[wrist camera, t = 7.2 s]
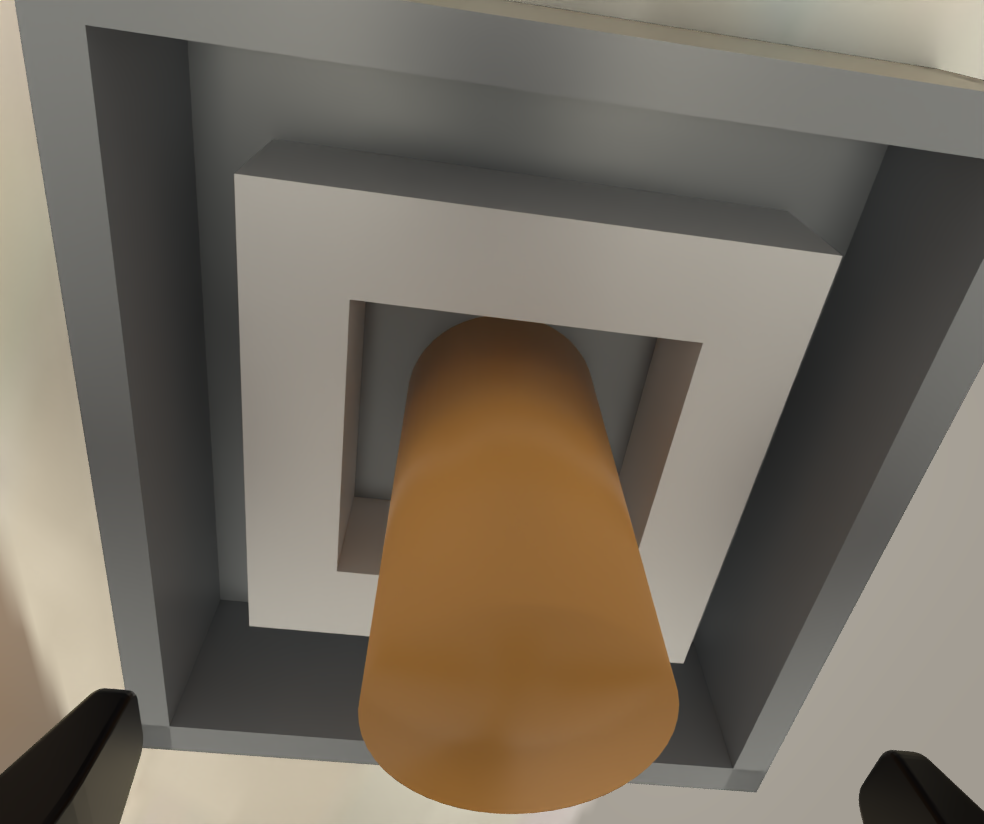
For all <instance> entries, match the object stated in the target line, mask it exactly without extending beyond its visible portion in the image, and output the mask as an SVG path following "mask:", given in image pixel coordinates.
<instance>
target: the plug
mask: <svg viewBox="0 0 984 824" xmlns="http://www.w3.org/2000/svg"><path fill="white" fill-rule="evenodd" d="M678 711H679V698H678V690H677V686H676V683H675V679H674V675H673V672H672V668H671V664H670V661H669V657H668V654H667V650H666V646H665V643H664V639H663V635H662V632H661V628H660V625H659V621H658V617H657V614H656V610H655V606H654V603H653V599H652V596H651V592H650V588H649V585H648V581H647V577H646V574H645V570H644V567H643V563H642V559H641V556H640V552H639V548H638V545H637V541H636V538H635V534H634V530H633V527H632V523H631V519H630V516H629V512H628V509H627V505H626V501H625V498H624V494H623V490H622V487H621V483H620V480H619V476H618V472H617V469H616V465H615V461H614V458H613V454H612V451H611V447H610V443H609V440H608V436H607V432H606V429H605V425H604V422H603V418H602V414H601V411H600V407H599V403H598V400H597V396H596V393H595V389H594V385H593V382H592V378H591V375H590V372H589V368H588V366H587V364H586V362H585V360H584V358H583V357H582V355H581V354H580V352H579V351H578V349H577V348H576V347H575V346H574V345H573V344H572V343H571V341H570V340H568V339H567V338H566V337H565V336H564V335H562V334H561V333H560V332H558V331H557V330H555V329H553V328H552V327H550V326H548V325H546V324H544V323H536V322H528V321H520V320H512V319H504V318H496V317H488V316H484V317H478V318H474V319H471V320H468V321H465V322H462V323H460V324H458V325H456V326H454V327H452V328H450V329H448V330H447V331H445V332H444V333H442V334H441V335H440V336H438V337H437V338H436V339H435V340H433V341H432V342H431V344H430V345H429V346H428V347H427V348H426V349H425V350H424V351H423V353H422V354H421V356H420V357H419V359H418V360H417V362H416V364H415V366H414V368H413V371H412V374H411V377H410V381H409V386H408V392H407V399H406V405H405V412H404V418H403V425H402V431H401V437H400V444H399V450H398V457H397V463H396V469H395V476H394V482H393V489H392V495H391V501H390V508H389V514H388V521H387V527H386V534H385V540H384V546H383V553H382V559H381V566H380V572H379V578H378V585H377V591H376V598H375V604H374V610H373V617H372V623H371V630H370V636H369V642H368V649H367V655H366V662H365V668H364V675H363V681H362V687H361V694H360V700H359V707H358V719H359V726H360V731H361V735H362V737H363V740H364V742H365V744H366V747H367V749H368V750H369V752H370V753H371V755H372V756H373V758H374V759H375V761H376V762H377V763H378V764H379V765H380V766H381V767H382V768H383V769H384V770H385V771H386V772H387V773H388V774H389V775H391V776H392V777H393V778H394V779H395V780H397V781H398V782H400V783H401V784H403V785H404V786H406V787H407V788H409V789H411V790H412V791H414V792H416V793H418V794H421V795H423V796H425V797H427V798H429V799H432V800H435V801H437V802H440V803H443V804H446V805H450V806H454V807H457V808H461V809H467V810H472V811H478V812H487V813H499V814H523V813H537V812H545V811H553V810H557V809H562V808H567V807H571V806H575V805H578V804H581V803H585V802H588V801H591V800H593V799H596V798H598V797H601V796H604V795H606V794H608V793H610V792H612V791H614V790H616V789H618V788H620V787H621V786H623V785H625V784H626V783H628V782H629V781H631V780H633V779H634V778H636V777H637V776H638V775H639V774H641V773H642V772H643V771H644V770H646V769H647V768H648V767H649V766H650V765H651V764H652V763H653V762H654V761H655V760H656V759H657V758H658V757H659V755H660V754H661V752H662V751H663V750H664V748H665V747H666V746H667V744H668V742H669V740H670V738H671V736H672V734H673V732H674V729H675V726H676V723H677V719H678Z"/></svg>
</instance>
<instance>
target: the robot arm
mask: <svg viewBox="0 0 984 824" xmlns="http://www.w3.org/2000/svg"><path fill="white" fill-rule="evenodd" d="M142 746H143V730H142V724H141V717H140V711H139V704H138V699H137V695H136V694H135V693H134V692H133V691H130V690H119V689H106V688H104V689H99V690H97V691H94V692H93V693H91V694H90V695H89V696H88V697H87V698H86V699H84V700H83V701H82V702H81V703H80V704H79V705H78V706H77V707H76V708H74V709H73V710H72V711H71V712H70V713H69V714H68V715H67V716H65V717H64V718H63V719H62V720H61V721H60V722H59V723H58V724H57V725H55V726H54V727H53V728H52V729H51V730H50V731H49V732H48V733H46V734H45V735H44V736H43V737H42V738H41V739H40V740H39V741H38V742H36V744H34V745H33V746H32V747H31V748H30V749H29V750H28V751H26V752H25V753H24V754H23V755H22V756H21V757H20V758H19V759H17V760H16V761H15V762H14V763H13V764H12V765H11V766H10V767H8V768H7V769H6V770H5V771H4V772H3V773H2V774H1V775H0V824H120V821H121V817H122V814H123V811H124V808H125V805H126V801H127V798H128V795H129V792H130V788H131V785H132V782H133V779H134V775H135V772H136V769H137V766H138V763H139V759H140V756H141V751H142ZM859 807H860V812H861V816H862V820H863V824H984V811H983V810H982V809H981V808H980V807H979V806H978V805H977V804H975V803H974V802H973V801H972V800H971V799H970V798H969V797H968V796H967V795H966V794H965V793H964V792H963V791H962V790H961V789H960V788H958V787H957V786H956V785H955V784H954V783H953V782H952V781H951V780H950V779H949V778H948V777H947V776H946V775H945V774H944V773H943V772H942V771H940V770H939V769H938V768H937V767H936V766H935V765H934V764H933V763H932V762H931V761H930V760H929V759H927V758H926V757H925V756H923V755H921V754H919V753H916V752H909V751H897V750H890V751H887V752H885V753H883V754H882V756H881V757H880V758H879V760H878V761H877V763H876V764H875V766H874V768H873V769H872V771H871V772H870V774H869V775H868V777H867V778H866V780H865V781H864V783H863V785H862V787H861V789H860V793H859Z"/></svg>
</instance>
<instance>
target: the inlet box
mask: <svg viewBox="0 0 984 824" xmlns="http://www.w3.org/2000/svg"><path fill="white" fill-rule="evenodd" d="M15 6H16V12H17V18H18V25H19V31H20V37H21V43H22V50H23V56H24V62H25V68H26V74H27V81H28V87H29V93H30V99H31V106H32V112H33V118H34V124H35V131H36V137H37V143H38V149H39V156H40V162H41V168H42V174H43V180H44V187H45V193H46V199H47V205H48V212H49V218H50V224H51V230H52V237H53V243H54V249H55V255H56V262H57V268H58V274H59V280H60V286H61V293H62V299H63V305H64V311H65V318H66V324H67V330H68V336H69V343H70V349H71V355H72V361H73V368H74V374H75V380H76V386H77V392H78V399H79V405H80V411H81V417H82V424H83V430H84V436H85V442H86V449H87V455H88V461H89V467H90V474H91V480H92V486H93V492H94V498H95V505H96V511H97V517H98V523H99V530H100V536H101V542H102V548H103V555H104V561H105V567H106V573H107V580H108V586H109V592H110V598H111V604H112V611H113V617H114V623H115V629H116V636H117V642H118V648H119V654H120V661H121V667H122V673H123V679H124V686H125V690H130V691H133V692H134V693H135V694H136V695H137V699H138V704H139V711H140V717H141V724H142V730H143V746H142V748H152V749H166V750H180V751H193V752H207V753H221V754H235V755H249V756H262V757H276V758H290V759H304V760H318V761H332V762H345V763H359V764H373V765H379V764H378V763H377V762H376V761H375V759H374V758H373V756H372V755H371V753H370V752H369V750H368V749H367V747H366V744H365V742H364V740H363V737H362V735H361V731H360V726H359V719H358V707H359V700H360V694H361V687H362V681H363V675H364V668H365V662H366V655H367V649H368V642H369V636H370V630H371V623H372V617H373V610H374V604H375V598H376V591H377V585H378V578H379V572H380V566H381V559H382V553H383V546H384V540H385V534H386V527H387V521H388V514H389V508H390V501H391V495H392V489H393V482H394V476H395V469H396V463H397V457H398V450H399V444H400V437H401V431H402V425H403V418H404V412H405V405H406V399H407V392H408V386H409V381H410V377H411V374H412V371H413V368H414V366H415V364H416V362H417V360H418V359H419V357H420V356H421V354H422V353H423V351H424V350H425V349H426V348H427V347H428V346H429V345H430V344H431V342H432V341H433V340H435V339H436V338H437V337H438V336H440V335H441V334H442V333H444V332H445V331H447V330H448V329H450V328H452V327H454V326H456V325H458V324H460V323H462V322H465V321H468V320H471V319H474V318H478V317H484V316H488V317H496V318H504V319H512V320H520V321H528V322H536V323H544V324H546V325H548V326H550V327H552V328H553V329H555V330H557V331H558V332H560V333H561V334H562V335H564V336H565V337H566V338H567V339H568V340H570V341H571V343H572V344H573V345H574V346H575V347H576V348H577V349H578V351H579V352H580V354H581V355H582V357H583V358H584V360H585V362H586V364H587V366H588V368H589V372H590V375H591V378H592V382H593V385H594V389H595V393H596V396H597V400H598V403H599V407H600V411H601V414H602V418H603V422H604V425H605V429H606V432H607V436H608V440H609V443H610V447H611V451H612V454H613V458H614V461H615V465H616V469H617V472H618V476H619V480H620V483H621V487H622V490H623V494H624V498H625V501H626V505H627V509H628V512H629V516H630V519H631V523H632V527H633V530H634V534H635V538H636V541H637V545H638V548H639V552H640V556H641V559H642V563H643V567H644V570H645V574H646V577H647V581H648V585H649V588H650V592H651V596H652V599H653V603H654V606H655V610H656V614H657V617H658V621H659V625H660V628H661V632H662V635H663V639H664V643H665V646H666V650H667V654H668V657H669V661H670V664H671V668H672V672H673V675H674V679H675V683H676V686H677V690H678V698H679V711H678V719H677V723H676V726H675V729H674V732H673V734H672V736H671V738H670V740H669V742H668V744H667V746H666V747H665V748H664V750H663V751H662V752H661V754H660V755H659V757H658V758H657V759H656V760H655V761H654V762H653V763H652V764H651V765H650V766H649V767H648V768H647V769H646V770H644V771H643V772H642V773H641V774H639V775H638V776H637V777H636V778H634V779H633V780H631V781H629V782H628V783H635V784H649V785H663V786H677V787H690V788H691V787H692V788H704V789H719V790H732V791H746V792H757V790H758V788H759V786H760V784H761V782H762V780H763V778H764V777H765V774H766V773H767V771H768V769H769V767H770V765H771V763H772V761H773V760H774V757H775V756H776V754H777V752H778V750H779V748H780V746H781V744H782V743H783V741H784V739H785V736H786V735H787V733H788V731H789V729H790V727H791V726H792V724H793V722H794V720H795V718H796V716H797V714H798V712H799V710H800V708H801V707H802V705H803V703H804V701H805V699H806V697H807V695H808V693H809V691H810V690H811V688H812V686H813V684H814V682H815V680H816V678H817V676H818V675H819V672H820V671H821V669H822V667H823V665H824V663H825V661H826V659H827V657H828V656H829V654H830V652H831V650H832V648H833V646H834V644H835V642H836V641H837V639H838V637H839V635H840V633H841V631H842V629H843V627H844V625H845V623H846V622H847V620H848V618H849V616H850V614H851V612H852V610H853V608H854V606H855V605H856V603H857V601H858V599H859V597H860V595H861V593H862V591H863V590H864V588H865V586H866V584H867V582H868V580H869V578H870V576H871V574H872V572H873V571H874V569H875V567H876V565H877V563H878V561H879V559H880V557H881V555H882V554H883V551H884V550H885V548H886V546H887V544H888V542H889V540H890V538H891V537H892V535H893V533H894V531H895V529H896V527H897V525H898V523H899V521H900V520H901V518H902V516H903V514H904V512H905V510H906V508H907V506H908V504H909V503H910V500H911V499H912V497H913V495H914V493H915V491H916V489H917V487H918V485H919V484H920V482H921V480H922V478H923V476H924V474H925V472H926V470H927V469H928V467H929V465H930V463H931V461H932V459H933V457H934V455H935V453H936V451H937V450H938V448H939V446H940V444H941V442H942V440H943V438H944V436H945V434H946V433H947V431H948V429H949V427H950V425H951V423H952V421H953V419H954V417H955V416H956V414H957V412H958V410H959V408H960V406H961V404H962V402H963V400H964V399H965V397H966V395H967V393H968V391H969V389H970V387H971V385H972V384H973V382H974V379H975V378H976V376H977V374H978V372H979V370H980V368H981V367H982V365H983V363H984V80H981V79H977V78H973V77H969V76H965V75H961V74H957V73H953V72H948V71H944V70H940V69H935V68H929V67H922V66H916V65H910V64H903V63H897V62H891V61H885V60H878V59H872V58H866V57H859V56H853V55H847V54H840V53H834V52H828V51H822V50H815V49H809V48H803V47H796V46H790V45H784V44H777V43H771V42H765V41H759V40H752V39H746V38H740V37H733V36H727V35H721V34H714V33H708V32H702V31H696V30H689V29H683V28H677V27H670V26H664V25H658V24H652V23H645V22H639V21H633V20H626V19H620V18H614V17H607V16H601V15H595V14H589V13H582V12H576V11H570V10H563V9H557V8H551V7H544V6H538V5H532V4H526V3H519V2H513V1H507V0H15Z"/></svg>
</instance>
